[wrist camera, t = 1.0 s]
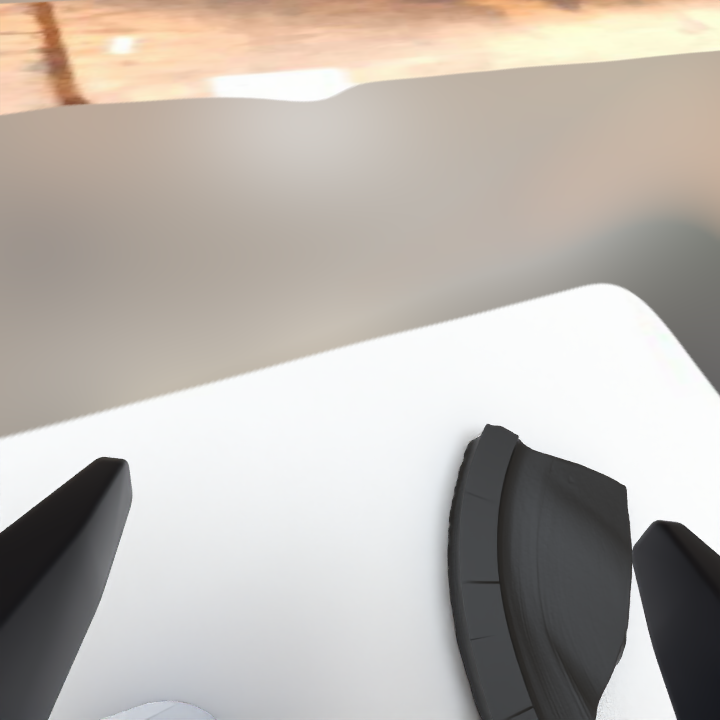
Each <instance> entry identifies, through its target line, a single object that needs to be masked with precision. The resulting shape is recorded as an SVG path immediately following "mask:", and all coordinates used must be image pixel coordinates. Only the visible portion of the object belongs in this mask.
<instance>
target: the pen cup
mask: <svg viewBox="0 0 720 720" xmlns="http://www.w3.org/2000/svg"><path fill="white" fill-rule="evenodd" d="M100 720H216V719H215V718H214V717H213V716H212V715H210V714H209V713H208V712H206V711H204V710H203V709H201V708H199V707H197V706H194V705H191V704H188V703H184V702H179V701H159V702H149V703H145V704H142V705H140V706H137V707H134V708H131V709H128V710H125V711H123V712H120V713H117V714H114V715H111V716H109V717H106V718H103V719H100Z"/></svg>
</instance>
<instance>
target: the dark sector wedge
mask: <svg viewBox="0 0 720 720" xmlns="http://www.w3.org/2000/svg"><path fill="white" fill-rule="evenodd" d="M518 437H519V436H518V435H516V434H514V433H513V432H511V431H509V430H507V429H506V428H504V427H502V426H493V425H490V424H487V425H486V426H485V428H484V430H483V432H482V434H481V436H480V437H478V438H476V439H475V440H472V441H471V442H470V443H469V444H468V447H467V449H466V451H465V453H464V461H463V462H462V465H461V467H460V471H459V477H458V480H457V484H456V487H455V495H454V498H453V501H452V507H451V511H450V518H449V522H450V527H449V545H448V566H449V569H448V574H449V585H450V595H451V603H452V607H453V615H454V620H455V624H456V635H457V640H458V645H459V648H460V651H461V655H462V658H463V662H464V666H465V669H466V673H467V676H468V679H469V681H470V685H471V688H472V693H473V696H474V699H475V702H476V705H477V708H478V710H479V713H480V716H481V718H482V720H596V714H597V707H598V704H599V700H600V698H601V696H602V694H603V692H604V690H605V688H606V686H607V684H608V682H609V680H610V678H611V675H612V673H613V671H614V668H615V666H616V665H617V664H618V663H619V661H620V659H621V657H622V654H623V651H624V648H625V645H626V632H627V628H628V620H629V607H630V590H631V580H632V544H631V533H630V521H629V514H628V505H627V490H626V486H624V485H622V484H620V483H619V482H617V481H616V480H614V479H612V478H610V477H608V476H606V475H604V474H601V473H599V472H597V471H594V470H592V469H589V468H587V467H585V466H582V465H580V464H577V463H574V462H570V461H567V460H564V459H560V458H557V457H555V456H551V455H548V454H544V453H541V452H538V451H535V450H532V449H531V448H529V447H527V446H526V445H524V444H523V443H522V442H521V440H519V439H518Z"/></svg>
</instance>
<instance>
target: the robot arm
mask: <svg viewBox="0 0 720 720" xmlns="http://www.w3.org/2000/svg"><path fill="white" fill-rule="evenodd" d="M131 502H132V486H131V479H130V471H129V465H128V462H127V461H126V460H124V459H118V458H109V457H101V458H98V459H96V460H95V461H93V462H92V463H91V464H89V465H88V466H87V467H85V468H84V469H83V470H82V471H80V472H79V473H78V474H76V475H75V476H74V477H72V478H71V479H70V480H69V481H67V482H66V483H65V484H63V485H62V486H61V487H59V488H58V489H57V490H56V491H54V492H53V493H52V494H50V495H49V496H48V497H46V498H45V499H44V500H43V501H41V502H40V503H39V504H37V505H36V506H35V507H33V508H32V509H31V510H30V511H28V512H27V513H26V514H24V515H23V516H22V517H20V518H19V519H18V520H17V521H15V522H14V523H13V524H11V525H10V526H9V527H7V528H6V529H5V530H4V531H2V532H1V533H0V720H48V718H49V716H50V714H51V711H52V709H53V707H54V705H55V702H56V700H57V698H58V696H59V693H60V691H61V689H62V687H63V684H64V682H65V680H66V678H67V675H68V673H69V671H70V669H71V666H72V664H73V662H74V660H75V657H76V655H77V653H78V651H79V648H80V646H81V644H82V642H83V639H84V637H85V635H86V633H87V630H88V628H89V626H90V624H91V621H92V619H93V617H94V615H95V612H96V610H97V607H98V605H99V602H100V600H101V597H102V594H103V591H104V588H105V585H106V582H107V579H108V576H109V573H110V570H111V567H112V564H113V560H114V557H115V554H116V551H117V548H118V545H119V542H120V538H121V535H122V532H123V529H124V526H125V523H126V520H127V516H128V513H129V510H130V507H131ZM632 563H633V567H634V571H635V575H636V580H637V584H638V588H639V592H640V597H641V601H642V605H643V609H644V613H645V618H646V622H647V626H648V630H649V634H650V638H651V642H652V646H653V649H654V652H655V655H656V659H657V662H658V665H659V668H660V671H661V674H662V677H663V680H664V682H665V685H666V688H667V691H668V694H669V697H670V700H671V703H672V706H673V709H674V712H675V715H676V718H677V720H720V556H719V555H718V554H717V553H716V552H715V551H714V550H712V549H711V548H710V547H709V546H708V545H706V544H705V543H704V542H703V541H702V540H701V539H699V538H698V537H697V536H696V535H695V534H694V533H692V532H691V531H690V530H689V529H688V528H687V527H685V526H684V525H682V524H681V523H678V522H672V521H663V520H657V521H655V522H653V523H652V524H651V525H650V526H649V527H648V529H647V530H646V531H645V533H644V534H643V535H642V536H641V538H640V539H639V540H638V541H637V543H636V544H635V545H634V547H633V550H632Z"/></svg>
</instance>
